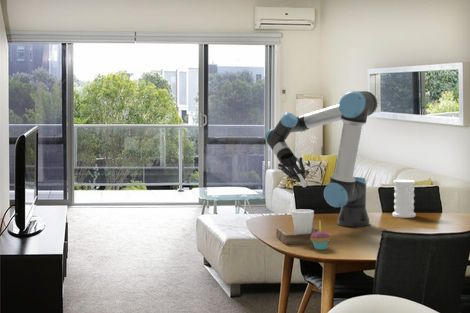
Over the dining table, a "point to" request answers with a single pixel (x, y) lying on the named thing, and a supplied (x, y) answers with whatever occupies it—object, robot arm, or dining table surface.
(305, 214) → the foam cup
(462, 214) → the dining table surface
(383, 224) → the dining table surface
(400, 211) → the decorative container
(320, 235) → the cupcake
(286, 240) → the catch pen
